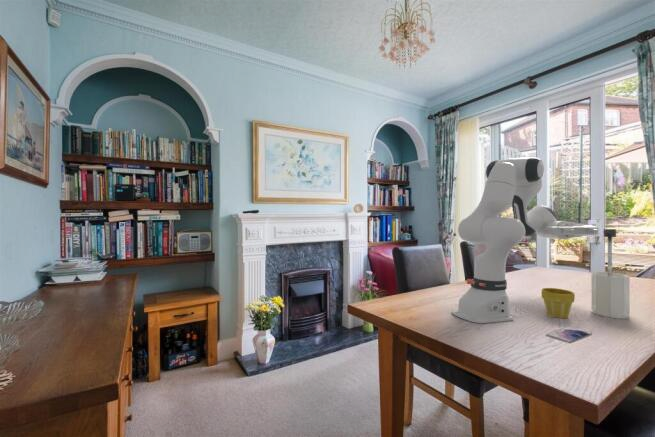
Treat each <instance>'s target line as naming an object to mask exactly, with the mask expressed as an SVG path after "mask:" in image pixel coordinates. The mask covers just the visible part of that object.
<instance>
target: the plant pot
mask: <svg viewBox="0 0 655 437" xmlns="http://www.w3.org/2000/svg"><path fill="white" fill-rule="evenodd" d="M541 298H542V299H543V302H544V306H545V311H546V314H547V315H548V316H550V317H551V318H552V317H553V318H558V319H568V318H569V315H570V311H571V307H572V305H573V303H574V302H575V292H573V291H571V290H567V289H562V288H554V287H544V288H542V289H541Z"/></svg>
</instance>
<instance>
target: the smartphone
mask: <svg viewBox="0 0 655 437" xmlns="http://www.w3.org/2000/svg"><path fill="white" fill-rule="evenodd" d="M545 336H546V337H548V338H552V339H555V340H558V341H562V342H564V343H567V342H568V344H573V343H575V342H577V340H578V341H579V340H580V341H581V340H583V339H585V338H588V337H590V336H593V333H592V332H589V331H586V330H582V329H580V328H577V327H576V328H575V327H571V326H565V327H563V328H560V329H557V330H554V331H551V332H548V333H546V334H545ZM572 342H573V343H572Z"/></svg>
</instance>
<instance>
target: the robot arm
mask: <svg viewBox="0 0 655 437" xmlns="http://www.w3.org/2000/svg"><path fill="white" fill-rule="evenodd" d="M544 166H545V165H544V162H543V160H542V159H540V158H539V157H533V156H530V157H516V158H515V157H511V158H504V159H500V160H499V159H496V160H493V161H491V162H489V164H488V165H487V167H486V170H485V175H486V176H485V177H486V179H487V180H486V182H485V186H484V190H483V192H482V197H481V199H480V201H479V203H478V205H477V206H476V208H475V209H474V210H473V212H472V213H470V214H469V215H468V216H467V217H465V218H464V219H462V220H461V221H460V222H459V224H458V228H457V233H458V236H459V237H460V239H461V240H463V241H464V242H465V241H466V242H468V243H472V244H483V245H486V248H485V251H484V252H482V253H480V254H478V255H477V256H476V257H475V258H474V261H473V266H474V267H473V269H474V270H473V275H474V276H473V278H472V279H470V278H467V279H466V281H465V282H466V283H465V284H467V285H470V286H471V287H470V288H468V290H467V291H466V292H465V293H464V294H462V296H461V297H460V298H459V300H458V304H457V305H458V307H457V308H456V309H453V310H452V311H451V314H452V315H453V316H455V317H457V318H461V319H462V320H466V321H469V322H473V323H477V324H488V323H497V322H507V321H513V320H514V317H513V316H512V315H511V309H510V299H509V296H508V294H507V291H506V290H507V286H508V283H507V279H506V265H507V260H508V256H509V254H510V252H511V251H512V250H513V248H515V247H516V246H517V245H519V244H520V243H521V242H522V241H524V239H525V237H532V236H533V235H535V234H536V235H537V236H539V237H542V238H546V239H555V240H556V239H557V240H567V239H572V238H581V237H583V236H597V235H599V227H598V226H596V225H595V226H594V225H589V224H588V225H587V224H583V223H579V222H570V221H565V220H558V219H557V215H556V213H555V211H554V210H552V208H550V207H549V206H546V205H542V204H537V205H535V206H534V207H533V208H531V209H530V210H529V211H527V208H528V206H529V204H530V203H531V202H532V200H533V199H535V197H536V196H537V195H538V194H539V193H540V191H541V189H542V187H543V179H542V177H543V175H544V171H545V167H544ZM511 207H512V213H513V217H508V216H500V215H501V214H503V213H505V212H507V211H508V210H509V209H511Z"/></svg>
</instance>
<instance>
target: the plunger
mask: <svg viewBox="0 0 655 437" xmlns="http://www.w3.org/2000/svg"><path fill="white" fill-rule="evenodd" d="M603 237H605V238H607V272H608V276H612V273H613V238H617V229H616V228H603Z"/></svg>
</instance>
